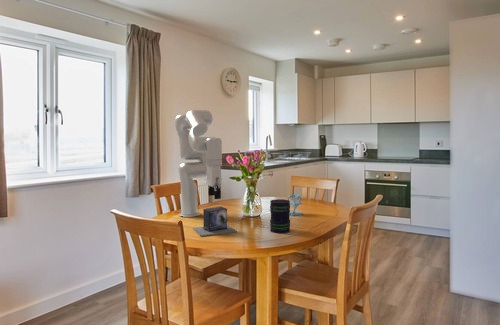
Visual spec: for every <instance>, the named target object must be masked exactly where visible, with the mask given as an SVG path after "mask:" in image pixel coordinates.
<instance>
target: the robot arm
mask: <svg viewBox="0 0 500 325" xmlns="http://www.w3.org/2000/svg"><path fill="white" fill-rule="evenodd" d="M212 123H213V114H212V112H210V110H207V109H191V110H189V111H188V112H187V113H183V114H178V115H177V116H176V117H175V119H174V127H175V130H176V132H177V136H178V144H179V154H180V155H179V156H180V158H181V159H182V161H188V162H183V163H180V164H179V165H178V174H179V180H180V183H179V184H180V206H181V207H180V208H181V209H180V210H181V212H179V213H178V216H179V217H181V216H183V217H182V218H196V217H198V216H200V215H201V211H198V186H197V183H196V182H195V180H194V179H200V178H201V179H202V178H206V185H207V187H208V190H207V192H208V197H212V196H214V197H213V199H214V200H220V199H222V165H223V153H222V152H223V145H222V144H223V141H222V138H220V137H215V136H203V135H205V134H206V133H207V132H208V128H209V126H210V125H212ZM196 160H197V161H196ZM189 161H195V162H189Z"/></svg>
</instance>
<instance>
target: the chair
mask: <svg viewBox="0 0 500 325" xmlns="http://www.w3.org/2000/svg"><path fill="white" fill-rule="evenodd" d="M286 198H287V199H286V200H289V201H290V198H292V201H290V206H293V210H292V211H290V213H289V216H291V217H293V216H295V217H296V216H303V215H304V212H300V211H296V209H297V207H299V206H300V205H302V204H303V203H302V202H301V200H302V199H301V198H302V196H301V195H299V194H298V193H295V194H294V193H293V194H289V195H288V196H287V197H286ZM297 199H298V201H296V200H297Z"/></svg>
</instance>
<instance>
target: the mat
mask: <svg viewBox="0 0 500 325" xmlns="http://www.w3.org/2000/svg"><path fill="white" fill-rule="evenodd" d="M203 227H204V226H198V227H197V226H196V227H193V228H192V230H193V229H194V230H195V231H196V232H197V233H198V234H197V233H196V232H195V233H196V234H197V235H199V234H200V235H201V236H204V237H208V236H207V235H212V236H218V235H217V234H220V235H226V234H227V233H228V234H236V233H237V232H238V231H237V229H235V228H233V227H232V226H230V225H229V224H227V229H222V230H216V231H210V232H209V231H206V230H204V229H203ZM194 230H193V231H194ZM228 234H227V235H228ZM200 235H199V236H200ZM201 236H200V237H201Z"/></svg>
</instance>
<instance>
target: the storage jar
mask: <svg viewBox="0 0 500 325" xmlns="http://www.w3.org/2000/svg"><path fill="white" fill-rule="evenodd" d="M290 202H291V201H290V199H289V200H288V199H282V198H281V199H280V198H279V199H278V198H277V199H271V200H270V206H269V212H270V220H269V222H270V223H269V224H270V225H269V226H270V232H271V233H273V234H288V233H290V232H291V230H290V229H291V219H290V215H289V213H290V212H291V205H290Z"/></svg>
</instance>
